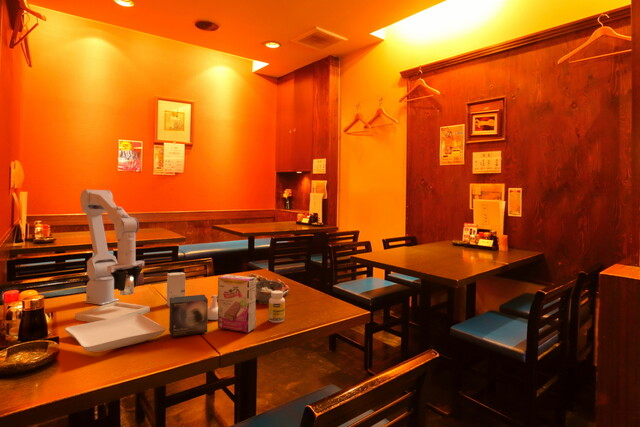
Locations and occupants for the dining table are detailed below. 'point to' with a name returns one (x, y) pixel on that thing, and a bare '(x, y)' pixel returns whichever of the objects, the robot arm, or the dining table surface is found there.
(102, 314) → the tray
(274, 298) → the supplement bottle
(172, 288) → the skincare box
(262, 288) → the food tray
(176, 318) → the small box
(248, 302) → the candy bar box
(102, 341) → the salad plate
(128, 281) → the cylinder
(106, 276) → the robot arm
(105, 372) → the dining table surface
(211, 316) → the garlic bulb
